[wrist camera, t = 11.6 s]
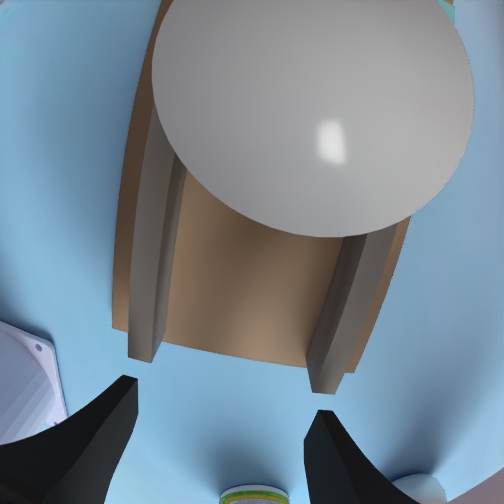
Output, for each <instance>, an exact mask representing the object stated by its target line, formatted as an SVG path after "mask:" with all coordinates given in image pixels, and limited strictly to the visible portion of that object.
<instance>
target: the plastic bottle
mask: <svg viewBox="0 0 504 504" xmlns="http://www.w3.org/2000/svg"><path fill="white" fill-rule="evenodd" d="M391 483H392V484H393V485H395V486H396V487H397V488H398V489H400V490H401V491H402V492H404V493H405V494H406V495H408V496H409V497H411V498H412V499H414V500H415V501H417V502H419V503H420V504H448V503H447V498H446V494H445V490H444V489H443V487H442V486H441V484H440V483H439V482H438V480H437V479H436V478H434V477H432V476H430V475H428V474H424V473H420V474H413V475H409V476H405V477H403V478H400V479H397V480H395V481H393V482H391Z"/></svg>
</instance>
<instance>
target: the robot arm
mask: <svg viewBox="0 0 504 504" xmlns="http://www.w3.org/2000/svg"><path fill="white" fill-rule="evenodd" d="M137 416H138V379H137V378H133V377H130V376H126V375H122V376H120V377H119V378H118V379H117V380H116V381H115V382H114V383H113V384H112V385H110V386H109V387H108V388H107V389H106V390H105V391H104V392H102V393H101V394H100V395H99V396H98V397H96V398H95V399H94V400H93V401H91V402H90V403H89V404H87V405H86V406H85V407H83V408H82V409H80V410H79V411H78V412H76V413H75V414H73V415H72V416H70V417H69V418H68V415H67V411H66V407H65V402H64V398H63V393H62V388H61V383H60V378H59V372H58V366H57V360H56V354H55V349H54V346H53V345H52V343H51V342H49V341H48V340H45V339H43V338H40V337H37V336H35V335H32V334H30V333H28V332H25V331H23V330H20V329H18V328H16V327H13V326H11V325H9V324H6V323H4V322H2V321H0V504H104V502H105V498H106V495H107V491H108V488H109V485H110V482H111V479H112V476H113V474H114V472H115V469H116V467H117V465H118V463H119V461H120V458H121V456H122V454H123V452H124V450H125V448H126V445H127V443H128V441H129V439H130V437H131V434H132V432H133V429H134V426H135V422H136V419H137ZM44 423H47V424H49V425H51V426H53V427H51V428H49V429H46V430H44V431H42V432H40V433H38V432H39V431H40V429H41V428H42V426H43V425H44ZM304 465H305V472H306V478H307V485H308V491H309V497H310V504H420V503H419V502H417V501H415V500H414V499H412V498H411V497H409V496H408V495H406V494H405V493H404V492H402V491H401V490H400V489H398V488H397V487H396V486H395V485H393V484H392V483H391V482H390V481H389V480H388V479H387V478H386V477H384V476H383V475H382V474H381V473H380V472H379V471H378V470H377V469H376V468H375V467H374V466H373V464H372V463H371V462H370V461H369V460H368V459H367V458H366V456H365V455H364V454H363V453H362V451H361V450H360V449H359V448H358V446H357V445H356V444H355V442H354V441H353V439H352V438H351V437H350V435H349V434H348V432H347V431H346V430H345V428H344V427H343V425H342V424H341V422H340V421H339V419H338V418H337V416H336V415H335V413H334V412H333V411H331V410H318V412H317V414H316V416H315V418H314V420H313V422H312V425H311V427H310V429H309V431H308V433H307V435H306V437H305V439H304Z"/></svg>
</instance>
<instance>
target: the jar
mask: <svg viewBox="0 0 504 504" xmlns="http://www.w3.org/2000/svg"><path fill="white" fill-rule="evenodd" d="M152 86H153V94H154V101H155V105H156V108H157V112H158V116H159V119H160V122H161V124H162V127H163V129H164V131H165V134H166V136H167V138H168V141H169V142H170V144H171V146H172V147H173V149H174V151H175V152H176V154H177V155H178V157H179V159H180V160H181V162H182V163H183V164H184V165H185V166H186V168H187V169H188V170H189V171H190V173H191V174H192V175H193V176H194V178H195V179H196V180H198V181H199V182H200V183H201V184H202V185H203V186H204V187H205V188H206V189H207V190H208V191H209V192H210V193H211V194H212V195H214V196H215V197H217V198H218V199H219V200H221V201H222V202H223V203H225V204H226V205H227V206H229V207H230V208H232V209H234V210H235V211H237V212H239V213H241V214H243V215H244V216H246V217H248V218H250V219H252V220H254V221H257V222H259V223H262V224H264V225H267V226H269V227H271V228H274V229H278V230H282V231H286V232H290V233H293V234H299V235H306V236H314V237H345V236H353V235H361V234H365V233H369V232H373V231H376V230H380V229H383V228H385V227H388V226H390V225H393V224H395V223H397V222H400V221H402V220H403V219H405V218H407V217H408V216H410V215H412V214H413V213H415V212H417V211H418V210H419V209H421V208H422V207H423V206H424V205H426V204H427V203H428V202H429V201H431V200H432V199H433V198H434V197H435V196H436V195H437V194H438V193H439V191H440V190H441V189H442V188H443V187H444V186H445V185H446V183H447V182H448V181H449V179H450V178H451V176H452V175H453V173H454V172H455V171H456V169H457V167H458V165H459V163H460V161H461V159H462V157H463V155H464V152H465V149H466V147H467V144H468V141H469V138H470V134H471V129H472V124H473V117H474V101H475V100H474V85H473V78H472V73H471V68H470V63H469V60H468V57H467V54H466V51H465V48H464V45H463V43H462V41H461V38H460V36H459V34H458V32H457V30H456V28H455V26H454V25H453V23H452V21H451V20H450V18H449V17H448V15H447V13H446V12H445V11H444V9H443V8H442V7H441V5H440V4H439V3H438V2H437V0H174V1H173V2H172V4H171V6H170V7H169V9H168V11H167V13H166V15H165V17H164V19H163V21H162V24H161V26H160V29H159V32H158V35H157V38H156V42H155V48H154V53H153V58H152Z"/></svg>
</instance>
